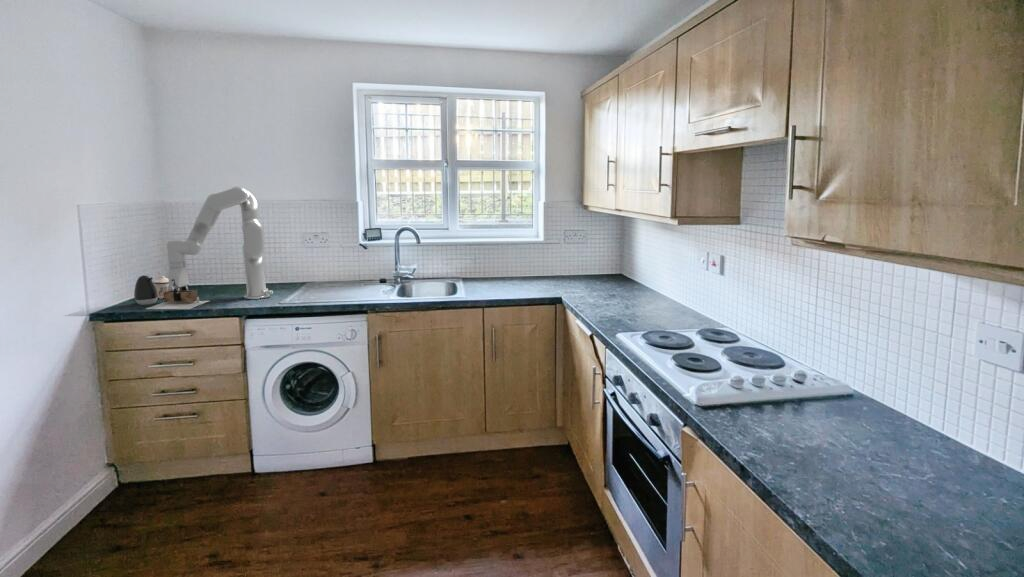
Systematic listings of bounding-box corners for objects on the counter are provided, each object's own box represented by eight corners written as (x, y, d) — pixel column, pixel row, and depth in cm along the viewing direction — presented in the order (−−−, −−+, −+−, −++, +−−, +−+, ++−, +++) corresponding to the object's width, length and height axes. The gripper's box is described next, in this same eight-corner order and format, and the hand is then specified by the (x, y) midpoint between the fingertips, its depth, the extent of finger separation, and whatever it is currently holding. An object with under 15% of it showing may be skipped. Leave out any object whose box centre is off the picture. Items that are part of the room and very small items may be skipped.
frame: (198, 299, 289) (197, 290, 288) (191, 302, 283) (190, 292, 282) (171, 299, 289) (170, 290, 288) (164, 302, 283) (163, 292, 283)
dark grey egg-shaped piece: (146, 307, 279) (142, 277, 276) (130, 305, 282) (126, 276, 279) (163, 303, 289) (160, 274, 286) (148, 301, 292) (144, 273, 289)
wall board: (210, 301, 292) (209, 295, 291) (189, 310, 273) (188, 303, 272) (168, 301, 292) (167, 295, 291) (145, 310, 273) (144, 302, 272)
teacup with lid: (158, 299, 297) (156, 278, 294) (152, 297, 302) (150, 276, 300) (183, 296, 305) (180, 275, 303) (177, 294, 311) (174, 273, 309)
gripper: (180, 262, 291) (184, 296, 295) (159, 267, 274) (163, 303, 278) (194, 262, 291) (198, 296, 295) (174, 267, 274) (178, 303, 278)
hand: (181, 299), depth 286 cm, fingers closed on frame, 6 cm apart
